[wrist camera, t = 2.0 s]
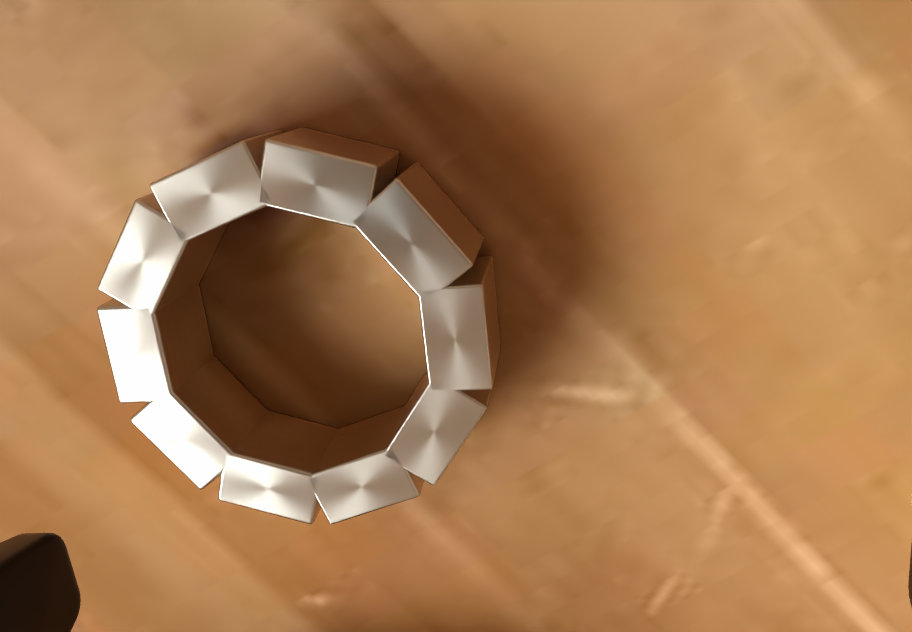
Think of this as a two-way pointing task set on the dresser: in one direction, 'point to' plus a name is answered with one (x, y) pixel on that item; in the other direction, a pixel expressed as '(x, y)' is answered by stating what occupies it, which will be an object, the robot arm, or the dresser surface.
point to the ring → (225, 399)
